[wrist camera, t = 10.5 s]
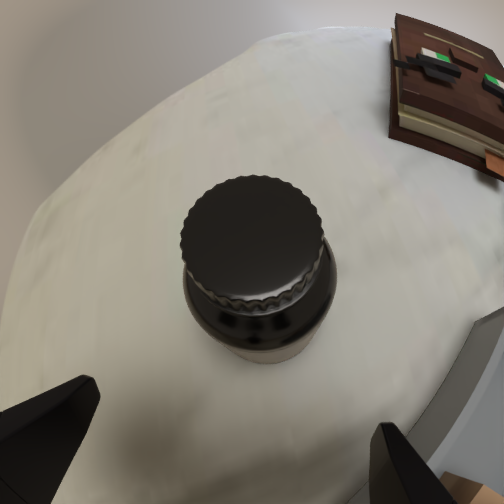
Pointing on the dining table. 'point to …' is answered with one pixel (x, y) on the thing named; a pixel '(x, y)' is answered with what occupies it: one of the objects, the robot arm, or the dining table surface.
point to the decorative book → (447, 95)
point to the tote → (466, 413)
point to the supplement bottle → (257, 267)
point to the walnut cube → (469, 490)
